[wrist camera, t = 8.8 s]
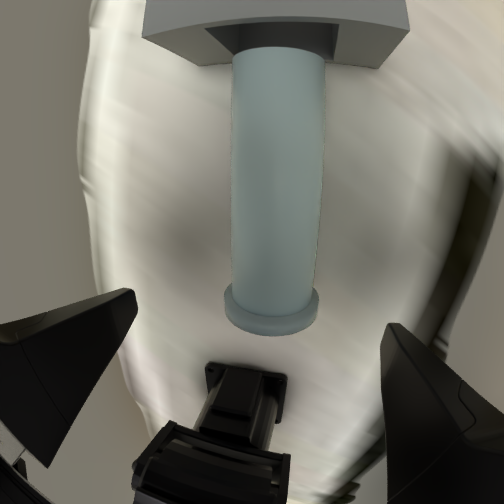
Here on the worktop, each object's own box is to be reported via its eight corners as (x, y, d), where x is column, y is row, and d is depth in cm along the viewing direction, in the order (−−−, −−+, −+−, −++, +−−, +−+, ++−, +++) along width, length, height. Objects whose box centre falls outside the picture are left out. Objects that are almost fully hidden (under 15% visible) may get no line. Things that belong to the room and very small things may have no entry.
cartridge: (317, 290, 16) (315, 341, 12) (238, 281, 17) (211, 327, 13) (331, 75, 12) (337, 45, 8) (239, 74, 13) (206, 48, 8)
